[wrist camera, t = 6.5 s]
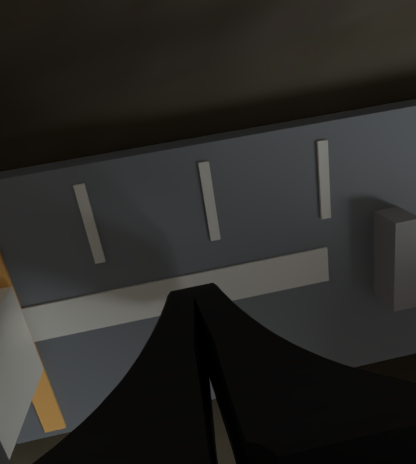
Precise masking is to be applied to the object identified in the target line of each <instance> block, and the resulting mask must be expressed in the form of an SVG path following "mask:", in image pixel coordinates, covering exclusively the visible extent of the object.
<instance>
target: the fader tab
mask: <svg viewBox="0 0 416 464" xmlns="http://www.w3.org/2000/svg"><path fill="white" fill-rule="evenodd" d="M42 372H43V366H42V363H41V361H40V358H39V356H38V353H37V350H36V348H35V345H34V342H33V340H32V337H31V335H30V332H29V329H28V327H27V324H26V321H25V319H24V316H23V314H22V311H21V308H20V306H19V303H18V300H17V298H16V295H15V293H14V290H13V287H12V286H11V287H6V288H1V289H0V464H11V463H10V461H9V459H10V457H11V454H12V452H13V449H14V446H15V444H16V441H17V438H18V436H19V433H20V430H21V428H22V425H23V422H24V420H25V417H26V414H27V412H28V409H29V407H30V404H31V401H32V399H33V396H34V393H35V391H36V388H37V385H38V383H39V380H40V377H41V375H42Z"/></svg>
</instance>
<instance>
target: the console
mask: <svg viewBox="0 0 416 464" xmlns="http://www.w3.org/2000/svg"><path fill="white" fill-rule="evenodd" d="M209 283H214V284H216V285H217V286H218V287H219V288H220V289H221V290H222V291H223V292H224V293H225V294H226V295H227V296H228V297H229V298H230V299H231V300H232V301H233V302H234V303H235V304H236V305H237V306H239V307H240V308H241V309H242V310H243V311H245V312H246V313H247V314H248V315H249V316H251V317H252V318H253V319H255V320H256V321H257V322H259V323H260V324H262V325H263V326H264V327H266V328H267V329H269V330H270V331H272V332H273V333H275V334H277V335H279V336H280V337H282V338H284V339H286V340H288V341H289V342H291V343H293V344H295V345H297V346H299V347H301V348H303V349H306V350H308V351H310V352H313V353H315V354H317V355H320V356H322V357H325V358H327V359H330V360H333V361H335V362H338V363H341V364H344V365H347V366H350V367H358V366H362V365H367V364H371V363H375V362H380V361H384V360H389V359H393V358H397V357H402V356H406V355H411V354H415V353H416V99H412V100H406V101H401V102H395V103H389V104H384V105H378V106H372V107H367V108H361V109H355V110H349V111H344V112H338V113H332V114H327V115H321V116H315V117H309V118H304V119H298V120H292V121H287V122H281V123H275V124H269V125H264V126H258V127H252V128H247V129H241V130H235V131H230V132H224V133H218V134H212V135H207V136H201V137H195V138H190V139H184V140H178V141H172V142H167V143H161V144H155V145H150V146H144V147H138V148H132V149H127V150H121V151H115V152H110V153H104V154H98V155H93V156H87V157H81V158H75V159H70V160H64V161H58V162H53V163H47V164H41V165H35V166H30V167H24V168H18V169H13V170H7V171H1V172H0V289H1V288H6V287H11V286H12V287H13V290H14V293H15V295H16V298H17V300H18V303H19V306H20V308H21V311H22V314H23V316H24V319H25V321H26V324H27V327H28V329H29V332H30V335H31V337H32V340H33V342H34V345H35V348H36V350H37V353H38V356H39V358H40V361H41V363H42V366H43V372H42V375H41V377H40V380H39V383H38V385H37V388H36V391H35V393H34V396H33V399H32V401H31V404H30V407H29V409H28V412H27V414H26V417H25V420H24V422H23V425H22V428H21V430H20V433H19V436H18V438H17V441H16V444H19V443H23V442H27V441H32V440H36V439H41V438H45V437H50V436H54V435H58V434H63V433H67V432H72V431H73V430H74V429H75V428H76V427H77V426H79V425H80V424H81V423H82V422H83V421H84V420H85V419H86V418H87V417H88V416H89V415H90V414H91V413H92V412H93V411H94V410H95V409H96V408H97V407H98V406H99V405H100V404H101V403H102V402H103V401H104V399H105V398H106V397H107V396H108V395H109V394H110V393H111V392H112V391H113V389H114V388H115V387H116V386H117V385H118V384H119V383H120V381H121V380H122V379H123V377H124V376H125V375H126V373H127V372H128V371H129V369H130V368H131V366H132V365H133V363H134V362H135V360H136V359H137V357H138V356H139V354H140V353H141V351H142V349H143V348H144V346H145V344H146V342H147V341H148V339H149V337H150V335H151V334H152V332H153V330H154V327H155V325H156V323H157V321H158V319H159V317H160V315H161V312H162V310H163V307H164V305H165V302H166V299H167V295H168V294H169V293H170V291H174V290H179V289H184V288H189V287H194V286H199V285H204V284H209ZM210 388H211V399H216V397H215V393H214V390H213V387H212V384H211V381H210Z"/></svg>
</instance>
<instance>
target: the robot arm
mask: <svg viewBox="0 0 416 464" xmlns="http://www.w3.org/2000/svg"><path fill="white" fill-rule="evenodd" d="M210 381H211V384H212V387H213V390H214V393H215V397H216V400H217V403H218V406H219V409H220V412H221V416H222V419H223V422H224V425H225V428H226V431H227V434H228V437H229V441H230V444H231V447H232V450H233V454H234V458H235V461H236V464H416V383H412V382H408V381H404V380H399V379H395V378H391V377H387V376H382V375H378V374H374V373H370V372H366V371H363V370H360V369H357V368H353V367H350V366H347V365H344V364H341V363H338V362H335V361H333V360H330V359H327V358H325V357H322V356H320V355H317V354H315V353H313V352H310V351H308V350H306V349H303V348H301V347H299V346H297V345H295V344H293V343H291V342H289V341H288V340H286V339H284V338H282V337H280V336H279V335H277V334H275V333H273V332H272V331H270V330H269V329H267V328H266V327H264V326H263V325H262V324H260V323H259V322H257V321H256V320H255V319H253V318H252V317H251V316H249V315H248V314H247V313H246V312H245V311H243V310H242V309H241V308H240V307H239V306H237V305H236V304H235V303H234V302H233V301H232V300H231V299H230V298H229V297H228V296H227V295H226V294H225V293H224V292H223V291H222V290H221V289H220V288H219V287H218V286H217V285H216V284H214V283H209V284H204V285H199V286H194V287H189V288H184V289H179V290H174V291H170V293H169V294H168V295H167V299H166V302H165V305H164V307H163V310H162V312H161V315H160V317H159V319H158V321H157V323H156V325H155V327H154V330H153V332H152V334H151V335H150V337H149V339H148V341H147V342H146V344H145V346H144V348H143V349H142V351H141V353H140V354H139V356H138V357H137V359H136V360H135V362H134V363H133V365H132V366H131V368H130V369H129V371H128V372H127V373H126V375H125V376H124V377H123V379H122V380H121V381H120V383H119V384H118V385H117V386H116V387H115V388H114V389H113V391H112V392H111V393H110V394H109V395H108V396H107V397H106V398H105V399H104V401H103V402H102V403H101V404H100V405H99V406H98V407H97V408H96V409H95V410H94V411H93V412H92V413H91V414H90V415H89V416H88V417H87V418H86V419H85V420H84V421H83V422H82V423H81V424H80V425H79V426H77V427H76V428H75V429H74V430H73V431H72V432H71V433H70V434H69V435H67V436H66V437H65V438H64V439H63V440H62V441H61V442H59V443H58V444H57V445H56V446H55V447H53V448H52V449H51V450H49V451H48V452H47V453H46V454H44V455H43V456H42V457H40V458H39V459H38V460H37V461H35V462H34V463H33V464H218V461H217V453H216V443H215V432H214V421H213V410H212V399H211V388H210Z"/></svg>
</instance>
